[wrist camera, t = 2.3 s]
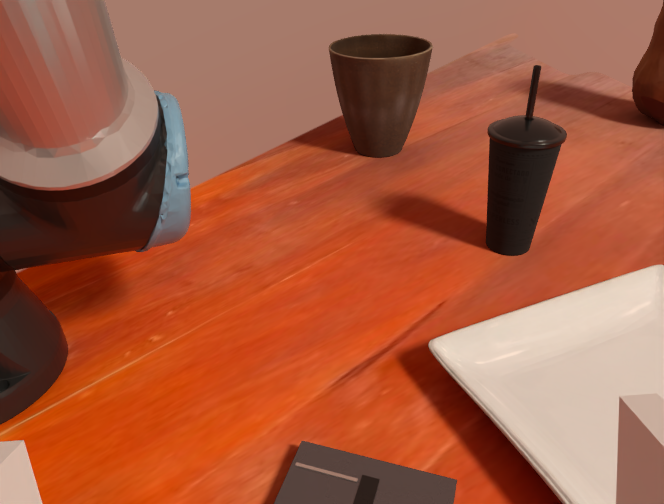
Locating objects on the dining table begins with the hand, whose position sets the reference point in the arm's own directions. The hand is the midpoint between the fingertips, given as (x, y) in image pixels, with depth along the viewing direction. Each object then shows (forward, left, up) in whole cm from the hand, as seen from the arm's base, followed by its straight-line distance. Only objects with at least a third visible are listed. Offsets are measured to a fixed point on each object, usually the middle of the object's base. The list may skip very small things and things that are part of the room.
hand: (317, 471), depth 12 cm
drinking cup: (+25, +44, -24) cm, 56 cm away
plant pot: (+16, +75, -24) cm, 80 cm away
